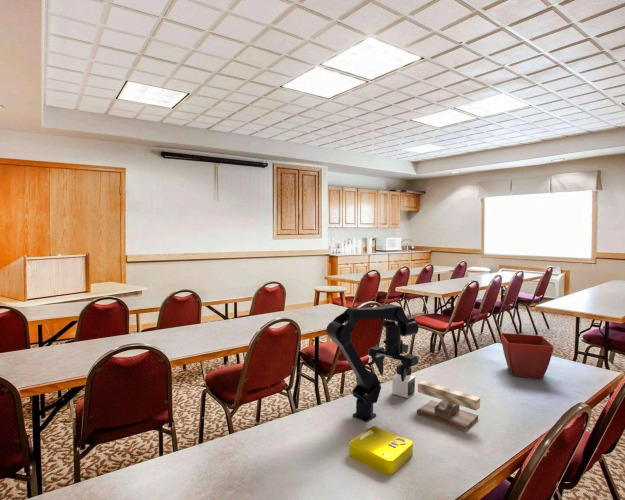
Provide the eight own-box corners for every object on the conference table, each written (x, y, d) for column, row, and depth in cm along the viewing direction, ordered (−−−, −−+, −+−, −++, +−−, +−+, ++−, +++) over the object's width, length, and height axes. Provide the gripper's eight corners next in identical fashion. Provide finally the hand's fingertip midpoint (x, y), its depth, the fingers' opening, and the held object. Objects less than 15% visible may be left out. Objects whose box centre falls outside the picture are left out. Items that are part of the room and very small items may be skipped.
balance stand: (465, 431, 130) (465, 412, 130) (416, 414, 142) (417, 396, 142) (478, 419, 139) (478, 401, 138) (431, 403, 151) (431, 387, 151)
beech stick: (479, 407, 134) (480, 397, 134) (476, 410, 131) (476, 400, 131) (421, 389, 149) (422, 380, 149) (417, 392, 146) (417, 383, 146)
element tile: (373, 437, 126) (373, 423, 126) (415, 455, 116) (415, 439, 116) (346, 456, 115) (346, 441, 115) (389, 478, 105) (390, 461, 105)
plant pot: (506, 377, 180) (507, 342, 179) (499, 364, 198) (500, 332, 197) (552, 382, 174) (554, 346, 173) (540, 368, 192) (542, 335, 192)
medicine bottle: (408, 398, 156) (408, 369, 155) (391, 394, 160) (392, 365, 159) (414, 392, 161) (415, 364, 161) (399, 388, 166) (399, 361, 165)
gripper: (425, 338, 144) (424, 378, 145) (383, 329, 157) (382, 366, 158) (411, 344, 136) (410, 387, 137) (367, 334, 149) (367, 373, 150)
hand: (392, 378), depth 146 cm, fingers open, 9 cm apart
